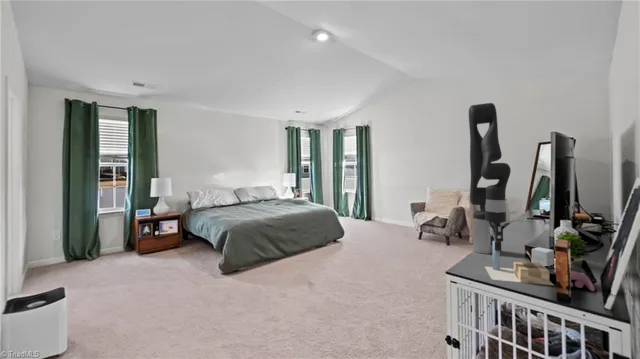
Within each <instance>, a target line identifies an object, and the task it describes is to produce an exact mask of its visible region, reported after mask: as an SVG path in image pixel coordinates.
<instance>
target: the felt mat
mask: <svg viewBox="0 0 640 359" xmlns="http://www.w3.org/2000/svg"><path fill="white" fill-rule="evenodd" d="M484 268H485V269H486V272H487V274H488V275H489V277H490V279H491V280H492V281H493V280H494V281H504V282H512V283H513V282H514V283H521V282H520V281H519V280H518V278H517V277H516V276H515V275H514V268H509V267H500V270H493V266H484ZM523 283H525V282H523ZM533 284H535V285H536V283H533ZM546 285H547V284H544V286H546ZM547 286H554V283H552V281H550V280H549V285H547Z"/></svg>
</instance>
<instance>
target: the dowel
mask: <svg viewBox="0 0 640 359" xmlns="http://www.w3.org/2000/svg"><path fill="white" fill-rule="evenodd" d="M500 254H501V251H496V250H495V241H493V253H492V267H493V270H500V268H501V266H500V265H501V264H500V260H501V255H500Z"/></svg>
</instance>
